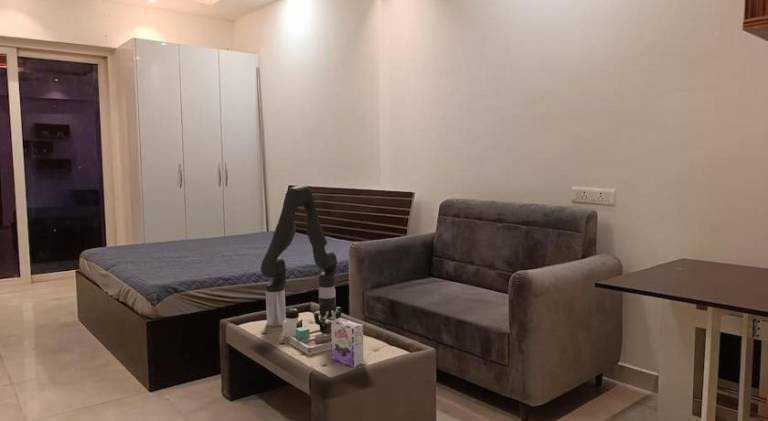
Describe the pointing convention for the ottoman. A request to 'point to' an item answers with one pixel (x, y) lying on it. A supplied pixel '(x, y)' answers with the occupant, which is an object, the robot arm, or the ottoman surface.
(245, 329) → the ottoman surface
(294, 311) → the medicine bottle
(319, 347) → the lane board
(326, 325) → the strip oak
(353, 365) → the candy box
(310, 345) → the strip walnut
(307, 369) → the ottoman surface
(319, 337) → the grey puck
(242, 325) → the ottoman surface
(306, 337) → the cube
